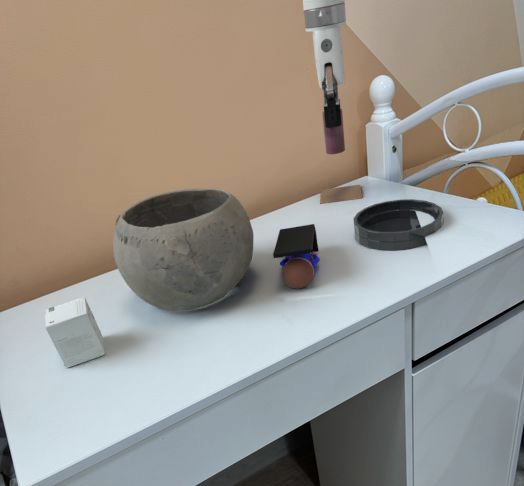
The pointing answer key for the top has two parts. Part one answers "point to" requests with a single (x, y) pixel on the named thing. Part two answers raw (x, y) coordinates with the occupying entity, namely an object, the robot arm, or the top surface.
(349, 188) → the coaster
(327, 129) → the purple vial
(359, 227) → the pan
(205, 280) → the bowl
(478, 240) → the top surface
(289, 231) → the figurine character
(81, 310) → the white cardboard box
